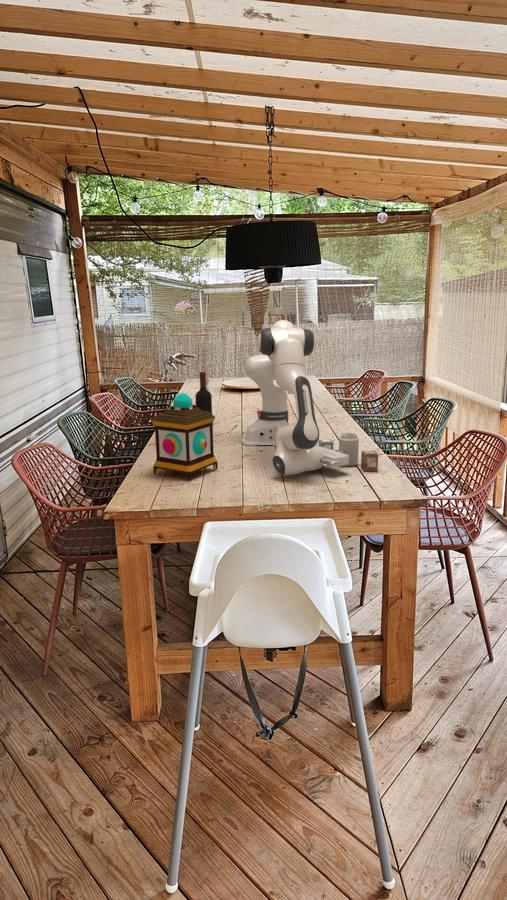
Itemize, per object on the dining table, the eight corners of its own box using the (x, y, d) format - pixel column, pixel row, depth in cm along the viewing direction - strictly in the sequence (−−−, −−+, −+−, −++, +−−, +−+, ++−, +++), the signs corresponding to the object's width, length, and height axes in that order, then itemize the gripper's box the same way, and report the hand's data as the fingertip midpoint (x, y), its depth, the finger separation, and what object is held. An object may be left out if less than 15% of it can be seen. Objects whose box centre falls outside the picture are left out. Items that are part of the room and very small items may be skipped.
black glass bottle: (206, 419, 316) (204, 363, 309) (224, 421, 309) (223, 364, 302) (190, 423, 306) (188, 366, 299) (209, 425, 299) (207, 367, 292)
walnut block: (364, 473, 214) (364, 454, 212) (360, 469, 219) (361, 450, 217) (377, 472, 214) (378, 453, 212) (374, 468, 219) (374, 450, 217)
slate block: (320, 459, 233) (321, 442, 231) (318, 456, 238) (318, 439, 236) (333, 459, 233) (333, 442, 231) (330, 455, 238) (331, 439, 236)
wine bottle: (194, 436, 277) (191, 372, 269) (201, 432, 284) (199, 371, 276) (208, 437, 274) (206, 373, 266) (215, 433, 281) (213, 371, 273)
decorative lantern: (190, 483, 205) (186, 398, 198) (148, 475, 215) (143, 394, 208) (223, 469, 221) (220, 390, 214) (182, 462, 232) (178, 387, 224)
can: (359, 462, 227) (360, 432, 224) (356, 467, 220) (357, 436, 217) (340, 461, 230) (341, 431, 227) (336, 466, 223) (337, 435, 220)
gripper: (331, 455, 205) (360, 449, 212) (296, 444, 222) (324, 439, 229) (331, 472, 207) (360, 466, 214) (296, 460, 223) (323, 454, 231)
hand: (341, 452), depth 222 cm, fingers closed, pressing on can
